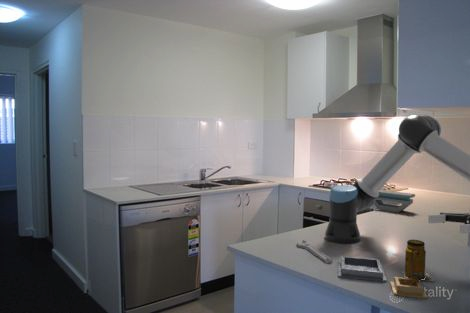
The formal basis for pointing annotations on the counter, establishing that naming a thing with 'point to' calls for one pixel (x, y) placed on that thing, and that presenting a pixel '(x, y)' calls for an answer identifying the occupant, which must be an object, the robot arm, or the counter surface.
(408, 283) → the small brown compartment box
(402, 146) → the robot arm
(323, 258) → the adjustable wrench
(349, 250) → the counter surface
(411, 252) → the condiment
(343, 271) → the large collar
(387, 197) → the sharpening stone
